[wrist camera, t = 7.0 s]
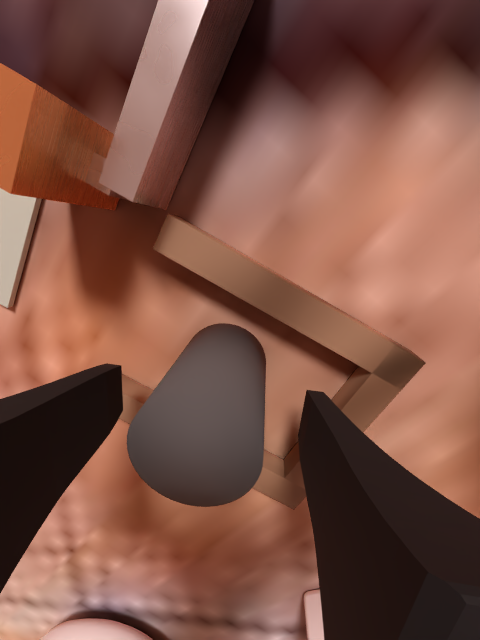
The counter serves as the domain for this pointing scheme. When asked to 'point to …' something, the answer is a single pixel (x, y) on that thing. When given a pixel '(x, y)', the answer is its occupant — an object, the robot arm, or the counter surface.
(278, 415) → the counter surface
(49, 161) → the latch bar
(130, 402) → the frame
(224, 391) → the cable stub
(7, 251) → the off-white flat square block
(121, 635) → the flower in vase
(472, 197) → the counter surface
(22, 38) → the counter surface
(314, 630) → the medicine bottle
